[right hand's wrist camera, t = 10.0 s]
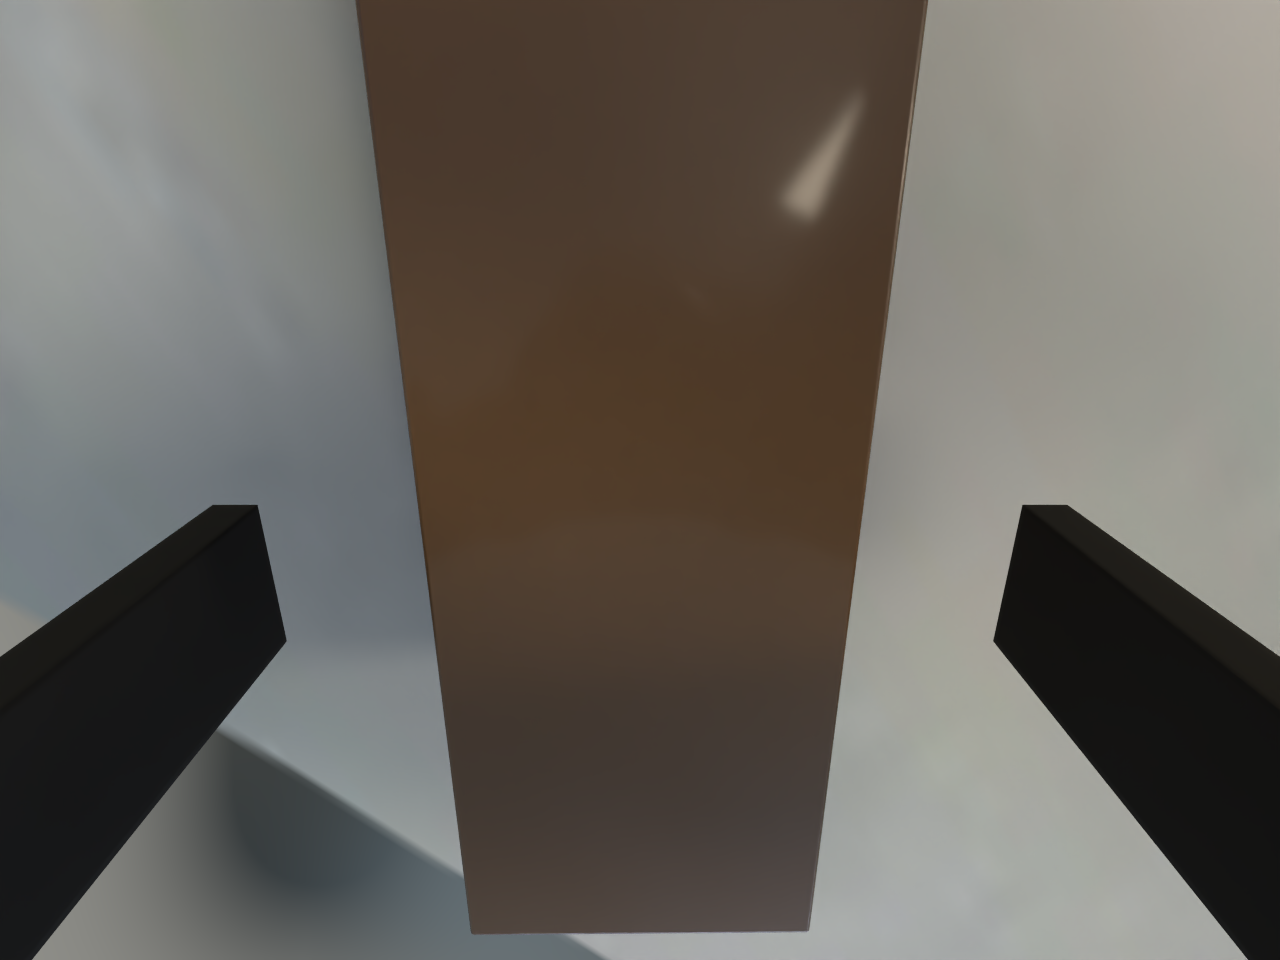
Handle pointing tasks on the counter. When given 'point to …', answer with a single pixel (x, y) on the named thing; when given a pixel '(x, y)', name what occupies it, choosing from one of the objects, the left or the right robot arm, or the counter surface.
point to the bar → (640, 426)
